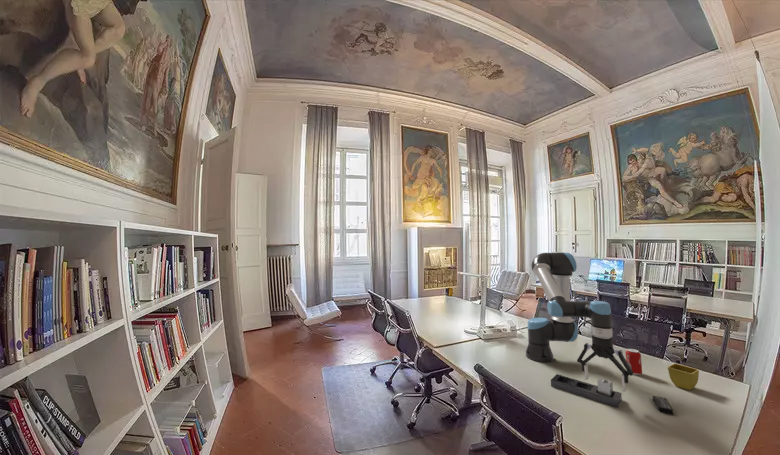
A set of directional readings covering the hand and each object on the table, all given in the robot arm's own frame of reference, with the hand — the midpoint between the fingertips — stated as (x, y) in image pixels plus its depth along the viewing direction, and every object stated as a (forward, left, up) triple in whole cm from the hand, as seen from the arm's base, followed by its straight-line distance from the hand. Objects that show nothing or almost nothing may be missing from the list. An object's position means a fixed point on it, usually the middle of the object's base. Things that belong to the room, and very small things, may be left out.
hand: (604, 384), depth 126 cm
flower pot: (+24, +40, -7) cm, 47 cm away
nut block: (0, 0, -6) cm, 7 cm away
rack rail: (-8, 0, -6) cm, 10 cm away
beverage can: (+5, +42, -7) cm, 43 cm away
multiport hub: (+18, +10, -7) cm, 22 cm away
